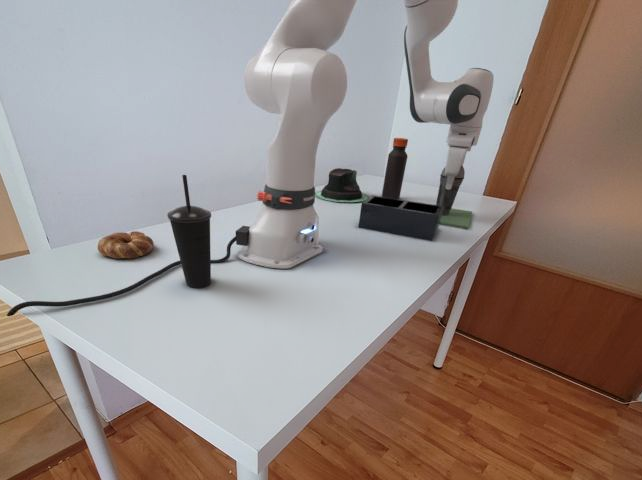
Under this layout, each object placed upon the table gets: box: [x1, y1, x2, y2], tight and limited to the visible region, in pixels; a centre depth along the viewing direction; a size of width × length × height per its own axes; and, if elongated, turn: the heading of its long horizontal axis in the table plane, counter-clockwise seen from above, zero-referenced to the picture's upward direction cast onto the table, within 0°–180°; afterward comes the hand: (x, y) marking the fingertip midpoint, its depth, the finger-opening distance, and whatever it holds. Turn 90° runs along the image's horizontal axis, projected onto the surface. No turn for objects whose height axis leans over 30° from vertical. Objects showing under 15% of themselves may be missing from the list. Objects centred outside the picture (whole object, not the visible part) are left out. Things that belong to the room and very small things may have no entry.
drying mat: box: [439, 208, 473, 230], centre depth 122 cm, size 20×18×1 cm
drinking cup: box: [166, 174, 212, 289], centre depth 67 cm, size 8×8×20 cm
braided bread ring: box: [97, 230, 155, 260], centre depth 83 cm, size 12×11×4 cm
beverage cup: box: [435, 165, 465, 216], centre depth 116 cm, size 7×7×20 cm
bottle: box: [381, 137, 409, 199], centre depth 133 cm, size 7×7×20 cm
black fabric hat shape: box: [315, 167, 369, 203], centre depth 136 cm, size 15×19×20 cm
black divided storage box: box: [357, 195, 444, 242], centre depth 107 cm, size 11×22×7 cm, turn 65°
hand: (449, 186), depth 116 cm, fingers closed on beverage cup, 6 cm apart
